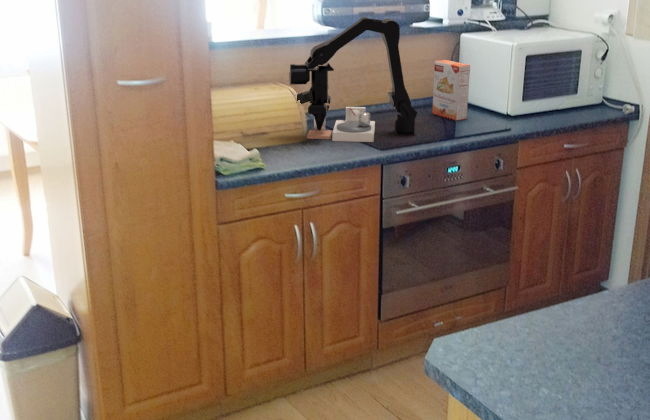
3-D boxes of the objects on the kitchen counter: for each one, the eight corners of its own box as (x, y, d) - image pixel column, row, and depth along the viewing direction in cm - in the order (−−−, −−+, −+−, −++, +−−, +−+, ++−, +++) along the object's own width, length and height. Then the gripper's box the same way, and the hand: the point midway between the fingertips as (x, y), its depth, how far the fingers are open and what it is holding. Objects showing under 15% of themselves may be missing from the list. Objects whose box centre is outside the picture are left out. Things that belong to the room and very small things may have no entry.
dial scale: (374, 129, 268) (375, 106, 265) (373, 142, 252) (373, 118, 249) (336, 128, 269) (336, 105, 266) (332, 141, 253) (332, 117, 250)
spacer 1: (325, 128, 260) (325, 115, 259) (324, 131, 257) (324, 118, 255) (314, 128, 261) (314, 115, 259) (313, 131, 257) (313, 118, 255)
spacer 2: (370, 124, 258) (370, 112, 257) (369, 127, 255) (369, 114, 253) (358, 124, 259) (358, 112, 257) (358, 127, 255) (358, 114, 253)
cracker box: (431, 114, 290) (433, 60, 283) (442, 112, 293) (446, 59, 286) (455, 121, 279) (458, 65, 272) (467, 119, 282) (471, 64, 275)
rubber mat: (331, 133, 263) (331, 130, 262) (330, 139, 255) (330, 136, 255) (309, 132, 263) (309, 129, 263) (306, 138, 256) (306, 135, 256)
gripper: (299, 78, 262) (300, 121, 268) (292, 88, 245) (293, 134, 250) (330, 78, 261) (330, 122, 267) (326, 89, 244) (326, 135, 249)
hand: (319, 128), depth 258 cm, fingers closed on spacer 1, 4 cm apart
